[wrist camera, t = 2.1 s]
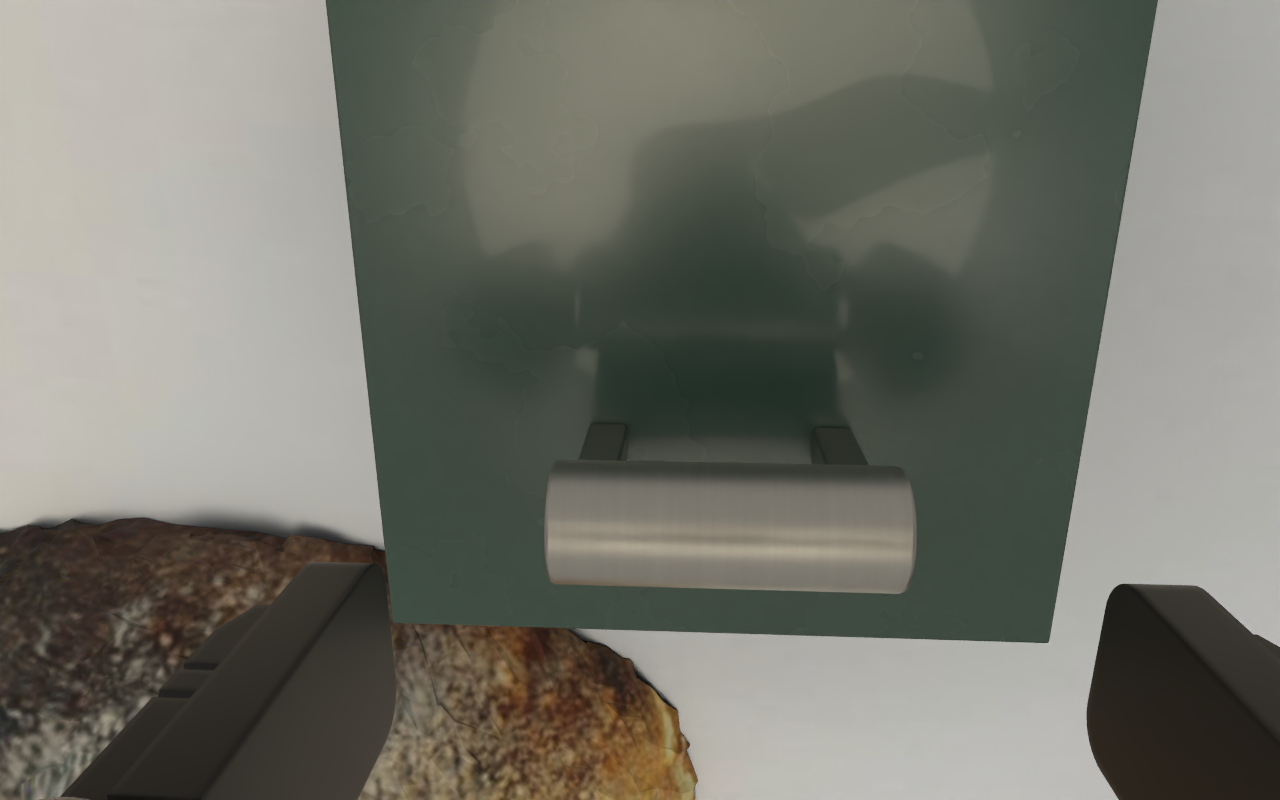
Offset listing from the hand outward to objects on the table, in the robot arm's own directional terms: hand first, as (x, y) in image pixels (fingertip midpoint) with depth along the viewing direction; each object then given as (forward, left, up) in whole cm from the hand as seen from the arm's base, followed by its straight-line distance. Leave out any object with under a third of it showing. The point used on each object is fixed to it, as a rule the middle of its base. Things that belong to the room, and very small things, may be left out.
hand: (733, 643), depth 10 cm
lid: (-4, -1, -7) cm, 8 cm away
